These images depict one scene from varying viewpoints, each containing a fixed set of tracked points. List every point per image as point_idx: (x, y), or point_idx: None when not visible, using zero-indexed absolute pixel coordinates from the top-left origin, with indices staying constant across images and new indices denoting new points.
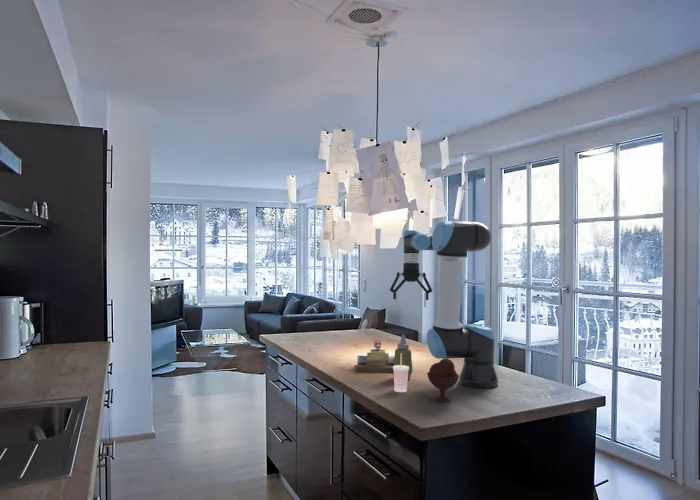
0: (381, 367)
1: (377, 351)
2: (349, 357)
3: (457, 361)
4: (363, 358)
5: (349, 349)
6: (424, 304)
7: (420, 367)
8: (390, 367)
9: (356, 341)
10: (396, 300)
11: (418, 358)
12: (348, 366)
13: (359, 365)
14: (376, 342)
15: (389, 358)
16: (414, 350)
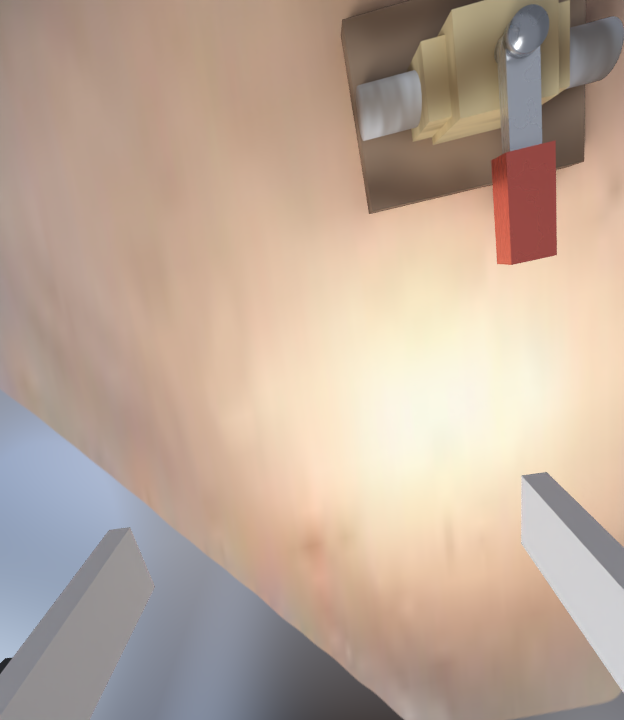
0: (440, 1)
1: (508, 19)
2: (611, 324)
3: (123, 387)
4: (574, 27)
5: (611, 487)
6: (106, 560)
7: (254, 210)
8: (389, 23)
9: (581, 633)
10: (613, 550)
11: (291, 397)
12: (617, 106)
13: (572, 13)
14: (539, 171)
15: (410, 73)
16: (328, 538)
